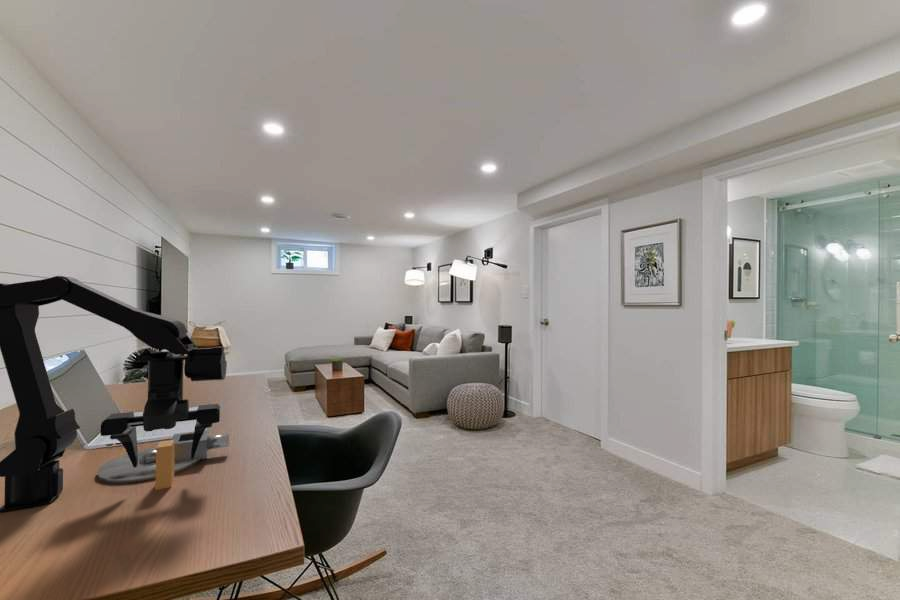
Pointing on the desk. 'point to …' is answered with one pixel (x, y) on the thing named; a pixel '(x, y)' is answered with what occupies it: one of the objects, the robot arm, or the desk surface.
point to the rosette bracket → (146, 468)
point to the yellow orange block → (165, 464)
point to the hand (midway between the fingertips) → (164, 462)
